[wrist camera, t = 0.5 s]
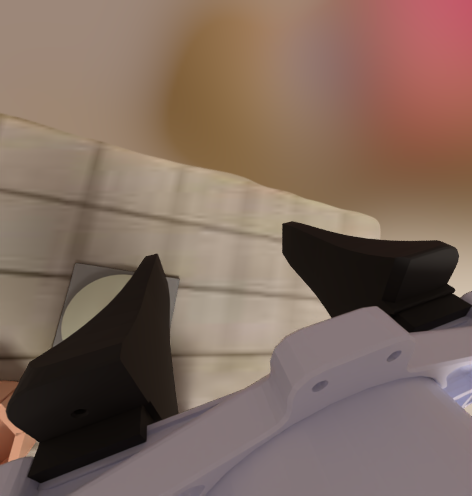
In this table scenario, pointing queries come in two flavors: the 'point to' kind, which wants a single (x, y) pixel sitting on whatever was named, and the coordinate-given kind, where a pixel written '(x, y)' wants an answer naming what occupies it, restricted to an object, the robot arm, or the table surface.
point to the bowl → (11, 429)
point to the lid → (91, 302)
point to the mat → (91, 273)
